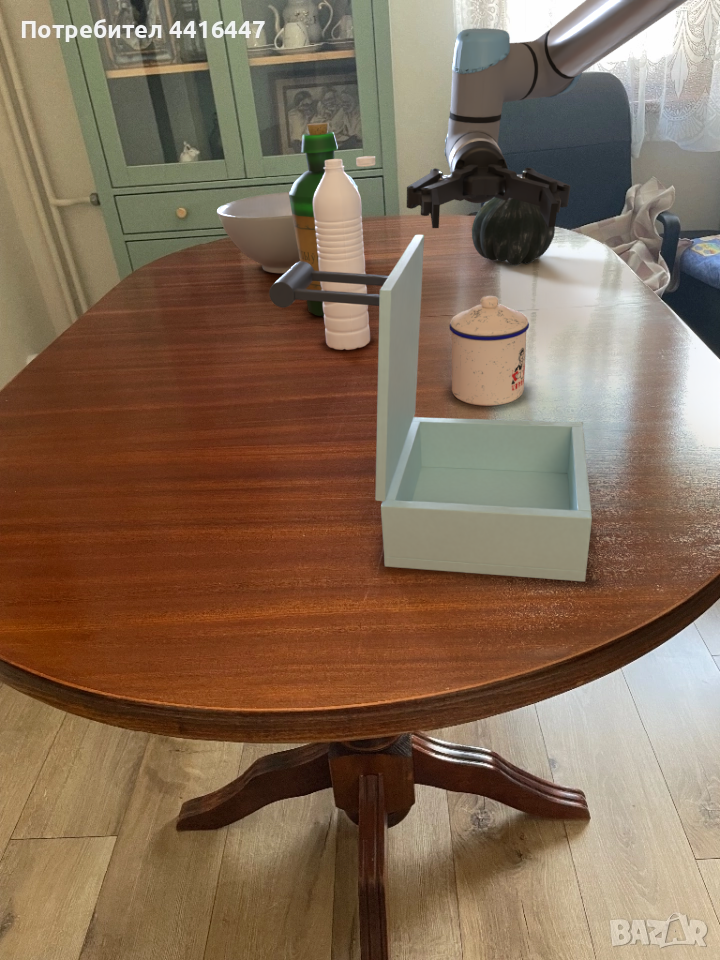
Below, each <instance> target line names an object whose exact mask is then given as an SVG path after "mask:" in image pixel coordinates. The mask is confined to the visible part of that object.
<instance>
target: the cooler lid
mask: <svg viewBox="0 0 720 960" xmlns="http://www.w3.org/2000/svg"><path fill="white" fill-rule="evenodd" d="M424 249H425V235H424V234H414V236H413V238H412V239H411V240H410V242H409V244H408V245H407V247H406V248H405V250H404V252H403V253H402V254H401V256H400V258H399V259H398V261H397V263H396V264H395V266H394V267H393V269H392V270H391V272H390V273H389V275H383V274H367V273H366V274H356V273H341V272H326V271H314V269H313V267H312V266H311V265H310V264H309V263H307V262H304V261H300V262H297V263H296V264H295V265H293V266H292V267H291V268H290V269H289V270H288V271H287V272H286V273H283V274H282V275H281V276H280V277H279V278H278V279H277V280H276V281H275V282H274V283H273V284H271V286H270V288H269V291H268V295H269V299H270V301H271V302H272V303H273V305H275V306H276V307H278V308H281V309H282V308H283V309H285V308H288V307H290V306H292V305H293V304H294V302H296V301H306V302H307V301H321V302H334V303H347V304H361V305H368V306H376V307H379V308H378V350H377V351H378V352H377V354H378V355H377V394H376V395H377V397H376V403H377V404H376V445H375V446H376V449H375V450H376V451H375V493H374V494H375V497H374V498H375V501H376V502H382V501H385V500H386V497H387V494H388V491H389V488H390V485H391V483H392V480H393V477H394V474H395V471H396V468H397V465H398V462H399V459H400V456H401V453H402V450H403V447H404V444H405V441H406V438H407V435H408V432H409V430H410V427H411V424H412V421H413V418H414V417H415V415H416V404H417V385H418V367H419V365H418V364H419V348H420V347H419V346H420V327H421V307H422V288H423V271H424V269H423V268H424ZM313 281H320V282H335V283H349V284H363V285H366V286H379V287H380V288H379V294H378V293H367V294H366V293H352V292H338V291H324V290H311V289H306V288H307V287H308V286H309V285H310V284H311V283H312V282H313Z"/></svg>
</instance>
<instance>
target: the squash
mask: <svg viewBox="0 0 720 960" xmlns="http://www.w3.org/2000/svg"><path fill="white" fill-rule="evenodd" d="M503 192H504V193H505V191H503ZM555 227H556V226H555ZM555 227H548V226H547V224H546V222H545V220H544V218H543V216H542V214H541V212H540V206H537V205H533V204H530V203H526V202H523V201H520V200H516V199H510V200H502V199H499V198H493V199H491V200H489V201H487V202H484V204H483V205H482V206H481V207H480V209H479V210H478V211H477V213H476V215H475V217H474V219H473V222H472V226H471V239H472V244H473V246H474V248H475V250H476V252H477V253H478V254H479V255H480V256H481V257H483V258H485V259H488V260H490V261H498V262H500V263H501V262H502V263H503V262H507V263H508V264H510V265H512V266H518V265H520V264H523V265H527V264H530V263H533V262H534V261H535V260H537V259H540V257H542V256H543V255H545V253H546V252H547V250H548V249H549V248H550V246H551V244H552V242H553V240H554V237H555V232H556V231H555V230H556V228H555Z"/></svg>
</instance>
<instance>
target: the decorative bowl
mask: <svg viewBox="0 0 720 960" xmlns="http://www.w3.org/2000/svg"><path fill="white" fill-rule="evenodd" d="M289 193H290V191H285V192H283V191H282V192H275V193H274V192H273V193H269V194H268V193H267V194H260V195H255V196H248V197H245V198H240V199H236V200H233V201H230V202H227V203H225V204H223V205H221V206H219V207H218V208H217V210H216V214H217V217H218V219H219V222H220V224H221V226H222V228H223V230H224V231H225V234H226V235H227V237H229V239H230V241H231V242H232V243H233V244H234V246H236V248H237V249H238V250H239V251H240V252H241V253H242V254H244V255H245V256H246V257H247V258H249V259H251V260H252V261H254V262H255V263H258V264H261V267H262V270H263V271H265V272H268V273H272V274H285V273H286V272H287V271H288V270H289V269H290V268H291V267H292V266H293V265H295V264H296V263H297V262H300V258H299V252H298V246H297V240H296V234H295V228H294V222H293V216H292V210H291V204H290V198H289Z"/></svg>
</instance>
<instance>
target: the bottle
mask: <svg viewBox="0 0 720 960" xmlns="http://www.w3.org/2000/svg"><path fill="white" fill-rule="evenodd" d="M305 126H306V128H307V133H303V134H302V138H301V139H302V141H301V149H300V153H303V154H305V159H306V164H307V165H306V166H307V169H308V170H306V171H304V172H303V173H302V174H301V175H299V177H298V178H297V179H296V180H295V181H294V182H293V184H292V186H291V189H290V190H289V192H290V193H289V198H290V204H291V210H292V216H293V222H294V228H295V234H296V240H297V246H298V252H299V258H300V261H304V262H307V263H309V264H310V265H311V266H312V267H313V269H314V271H319V261H318V257H319V256H318V249H317V237H316V230H315V226H316V225H315V218H314V212H313V197H314V194H315V192H316V189H317V187H318V185H319V183H320V181H321V179H322V177H323V175H324V173H325V169H324V167H325V160H330V159H335V151H337V150H338V149H339V147H338V143H337V139H336V136H335V132H334V131H329V122H313V123H307V124H306V125H305ZM346 175H347V176H348V177H349V179H350V180H351V182H352V183H353V184H354V186H355V187H356V189H357V190H358V191H359V189H358V185H357V184H356V182H355V180H354V179H353V178H352V177H351V176H350V175H348V174H347V173H346ZM306 289H311V290H322V287H321V283H320V281H313V282H312V283H311V284H310V285H309V286H308V287H307V288H306ZM306 304H307V311H308V312H309V313H310V314H313V315H314V316H317V317H322V318H324V312H323V302H321V301H307V300H306Z"/></svg>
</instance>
